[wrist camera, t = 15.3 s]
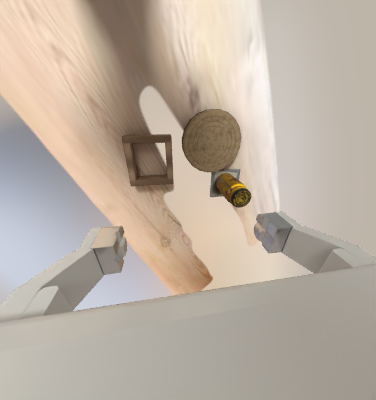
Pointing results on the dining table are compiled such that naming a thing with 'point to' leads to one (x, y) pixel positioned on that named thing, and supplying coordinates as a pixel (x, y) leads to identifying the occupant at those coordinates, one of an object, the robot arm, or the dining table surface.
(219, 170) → the coaster
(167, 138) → the holder
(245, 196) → the condiment
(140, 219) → the dining table surface
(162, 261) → the dining table surface
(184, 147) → the round cork trivet
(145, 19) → the dining table surface
